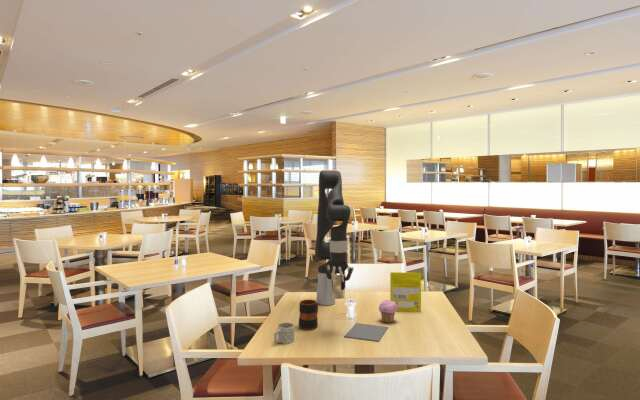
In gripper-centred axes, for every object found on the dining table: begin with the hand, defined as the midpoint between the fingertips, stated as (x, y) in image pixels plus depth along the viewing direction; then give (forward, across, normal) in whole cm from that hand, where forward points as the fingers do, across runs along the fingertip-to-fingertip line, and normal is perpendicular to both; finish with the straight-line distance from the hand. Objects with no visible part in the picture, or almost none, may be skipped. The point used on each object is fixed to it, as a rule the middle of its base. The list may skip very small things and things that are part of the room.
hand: (338, 289), depth 190 cm
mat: (+19, +12, +4) cm, 23 cm away
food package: (+19, +22, +40) cm, 49 cm away
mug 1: (+19, -18, -20) cm, 33 cm away
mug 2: (+19, -15, +2) cm, 24 cm away
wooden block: (+4, 0, -1) cm, 4 cm away
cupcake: (+19, +17, +22) cm, 34 cm away
